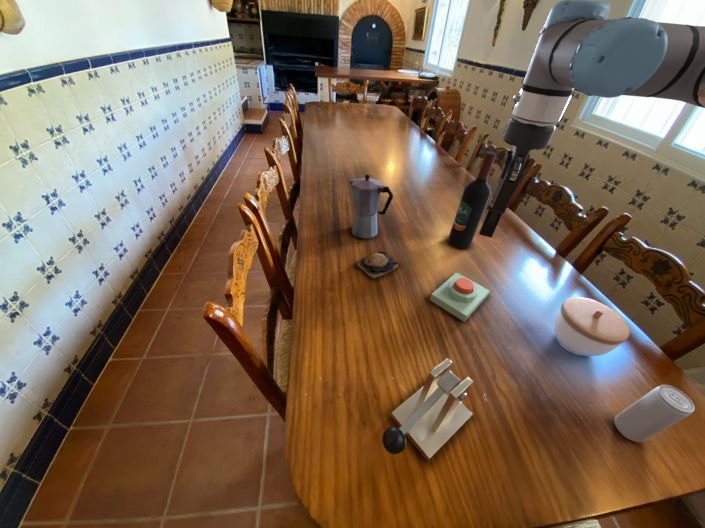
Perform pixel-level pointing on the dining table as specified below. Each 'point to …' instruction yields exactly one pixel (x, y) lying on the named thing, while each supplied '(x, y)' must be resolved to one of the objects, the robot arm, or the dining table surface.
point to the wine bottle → (472, 206)
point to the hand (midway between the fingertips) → (485, 234)
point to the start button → (463, 286)
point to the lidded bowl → (589, 327)
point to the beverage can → (653, 413)
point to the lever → (418, 415)
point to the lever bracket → (435, 413)
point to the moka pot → (367, 205)
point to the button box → (459, 298)
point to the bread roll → (377, 264)
